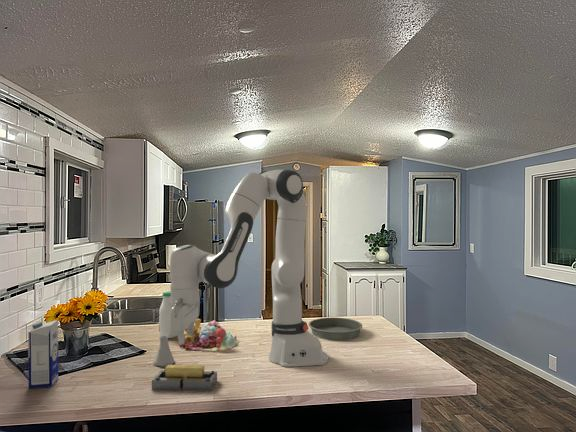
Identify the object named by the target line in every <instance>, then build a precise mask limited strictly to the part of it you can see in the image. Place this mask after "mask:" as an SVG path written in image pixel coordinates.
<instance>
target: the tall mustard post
mask: <svg viewBox="0 0 576 432" xmlns="http://www.w3.org/2000/svg"><path fill="white" fill-rule="evenodd" d="M164 370H165V378H182V384H183V380H184V379H185V378H199V379H204V372H205V365H202V364H200V365H199V364H198V365H197V364H196V365H195V364H172V365H167V366H165V367H164Z"/></svg>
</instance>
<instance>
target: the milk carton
mask: <svg viewBox="0 0 576 432" xmlns="http://www.w3.org/2000/svg"><path fill="white" fill-rule="evenodd" d="M58 326H59V320H58V319H57V320H52V321H48V322H45V323H43V322H42V321H41V322H38V323H35V324H33V325H32V329H30V330H29V331H27V340H28V341H27V346H28V347H27V348H28V349H27V353H28V354H27V355H28V358H27V359H28V363H27V366H28V389H39V388H41V389H42V388H52V387H53V386H54V385H55V383H56V382H57V381H58V379H59V337H58V336H59V330H58V329H59V327H58Z"/></svg>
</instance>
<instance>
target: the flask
mask: <svg viewBox="0 0 576 432" xmlns="http://www.w3.org/2000/svg"><path fill="white" fill-rule="evenodd" d="M158 338H159V347H158V350H157V353H156V355H155V358H154V361H153V365H154V366H155V367H163V368H165V367H166V366H167V365H174V363H175V362H176V361H175V359H174V356H173V353H172V352H171V349H170V344H169V339H170V338H169V336H161V337H159V336H158Z"/></svg>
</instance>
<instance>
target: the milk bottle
mask: <svg viewBox="0 0 576 432" xmlns="http://www.w3.org/2000/svg"><path fill="white" fill-rule="evenodd" d="M174 306H175V304H174V303H171V290H169V291H163V292H162V303H160V306H159V313H158V320H159V321H158V338H159V337H161V336H169V338H168V339H172V338H176V337H177V334H176V333H173V332H171V327H170V324H171V309H172V307H174Z"/></svg>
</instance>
